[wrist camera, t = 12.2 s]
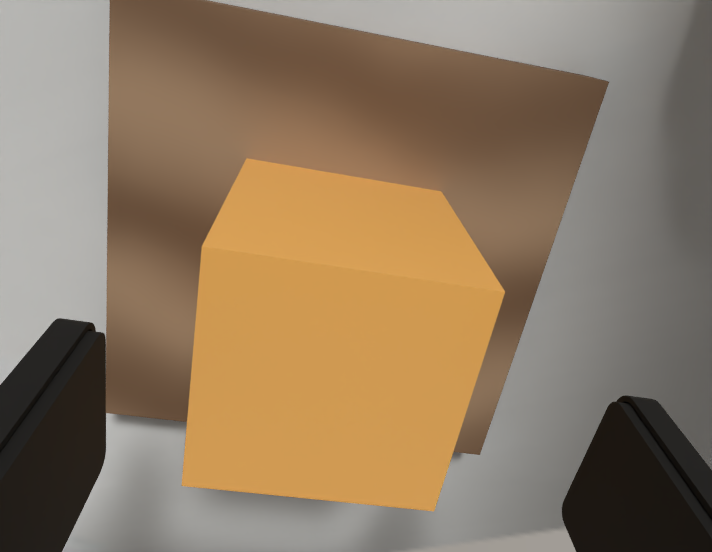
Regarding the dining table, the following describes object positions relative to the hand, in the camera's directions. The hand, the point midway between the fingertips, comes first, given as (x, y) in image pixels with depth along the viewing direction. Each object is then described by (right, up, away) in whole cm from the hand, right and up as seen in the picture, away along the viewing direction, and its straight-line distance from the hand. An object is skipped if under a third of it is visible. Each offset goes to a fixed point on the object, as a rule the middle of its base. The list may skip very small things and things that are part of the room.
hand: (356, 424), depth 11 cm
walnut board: (-1, +4, +9) cm, 10 cm away
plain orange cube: (-1, +3, +8) cm, 9 cm away
